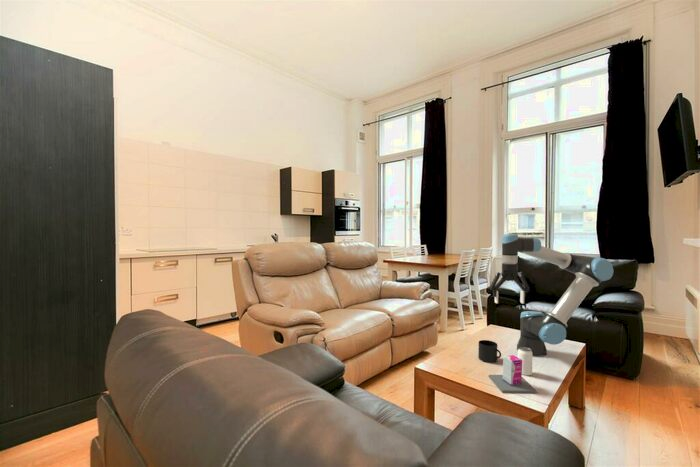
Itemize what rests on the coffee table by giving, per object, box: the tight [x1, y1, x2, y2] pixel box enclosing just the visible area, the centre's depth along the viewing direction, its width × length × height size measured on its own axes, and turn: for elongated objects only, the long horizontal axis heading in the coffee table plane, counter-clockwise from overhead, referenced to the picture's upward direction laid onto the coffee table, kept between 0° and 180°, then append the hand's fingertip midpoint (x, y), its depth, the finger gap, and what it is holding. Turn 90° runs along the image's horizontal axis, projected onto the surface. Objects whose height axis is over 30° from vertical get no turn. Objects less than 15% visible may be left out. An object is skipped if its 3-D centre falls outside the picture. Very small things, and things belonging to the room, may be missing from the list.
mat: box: [488, 374, 538, 394], centre depth 149 cm, size 15×15×1 cm
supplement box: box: [502, 354, 523, 385], centre depth 149 cm, size 6×6×12 cm
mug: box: [477, 339, 502, 364], centre depth 176 cm, size 9×12×9 cm
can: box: [517, 347, 533, 377], centre depth 161 cm, size 6×6×12 cm
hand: (509, 303), depth 173 cm, fingers open, 13 cm apart
